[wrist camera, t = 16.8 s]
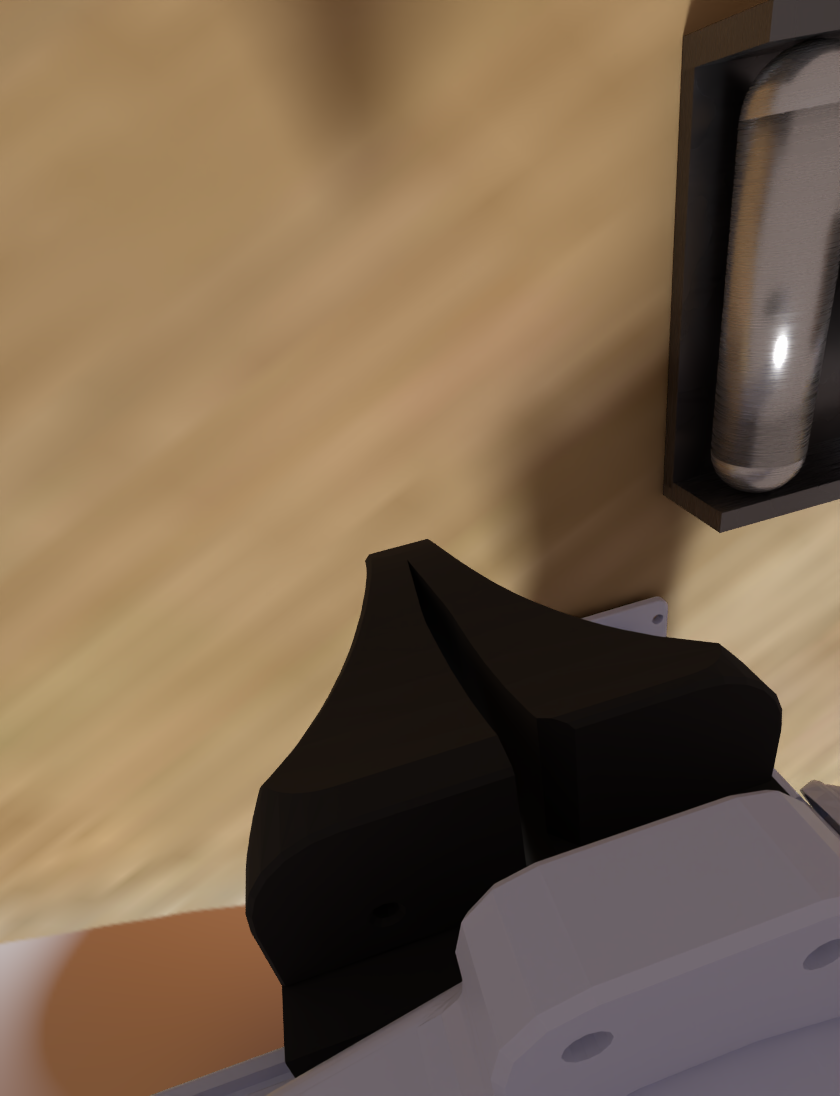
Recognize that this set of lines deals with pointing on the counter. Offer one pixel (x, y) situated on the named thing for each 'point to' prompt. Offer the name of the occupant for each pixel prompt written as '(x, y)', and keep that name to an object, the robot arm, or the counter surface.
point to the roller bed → (707, 265)
